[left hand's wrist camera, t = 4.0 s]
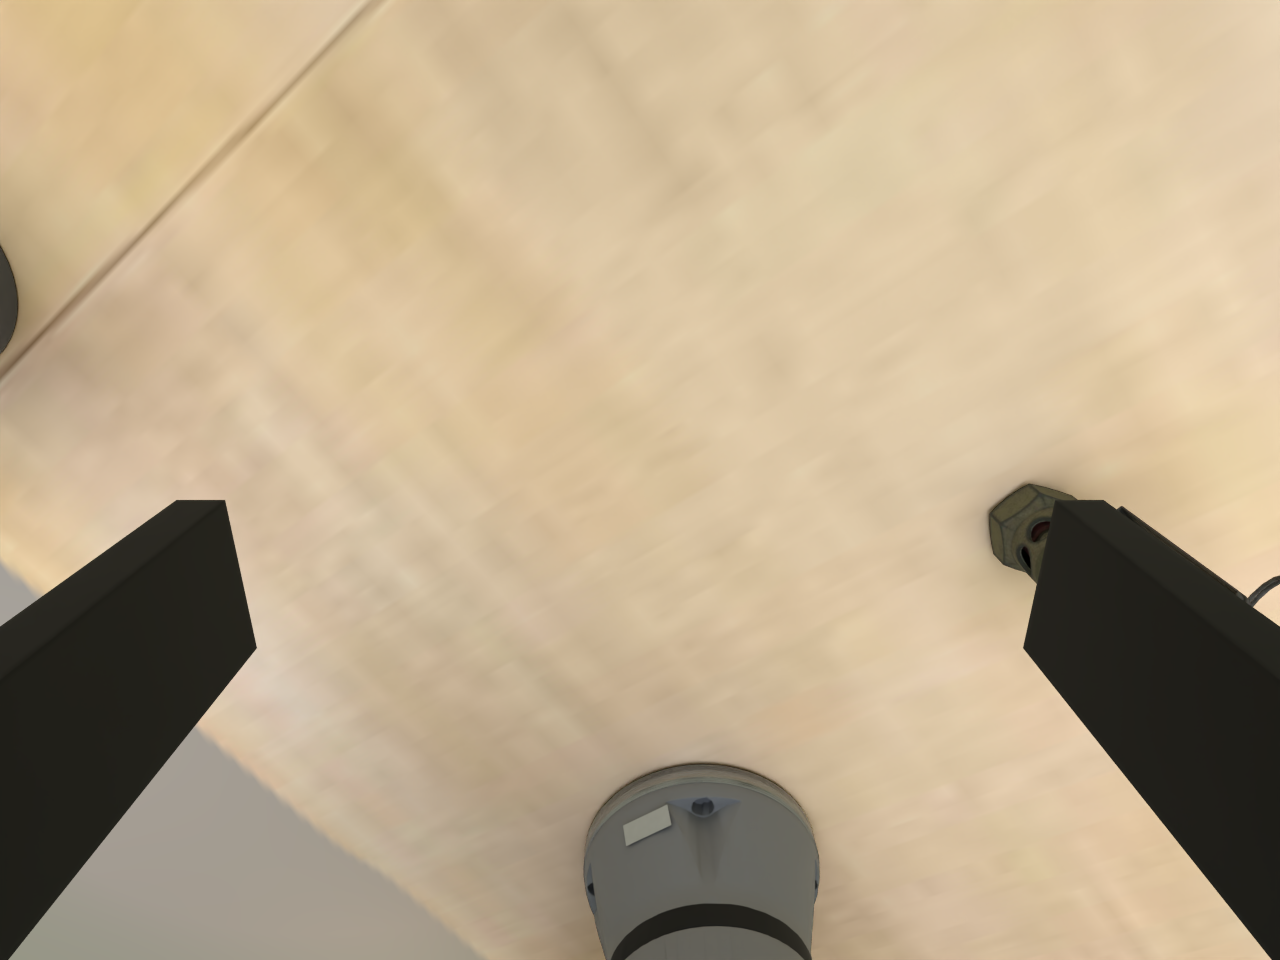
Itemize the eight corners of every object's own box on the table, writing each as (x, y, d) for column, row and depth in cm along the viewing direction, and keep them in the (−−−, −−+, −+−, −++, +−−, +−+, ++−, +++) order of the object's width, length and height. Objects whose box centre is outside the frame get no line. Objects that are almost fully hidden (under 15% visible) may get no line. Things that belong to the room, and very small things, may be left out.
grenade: (1015, 601, 45) (1185, 798, 31) (955, 536, 43) (1106, 711, 29) (1152, 503, 42) (1402, 667, 29) (1094, 430, 41) (1328, 565, 27)
